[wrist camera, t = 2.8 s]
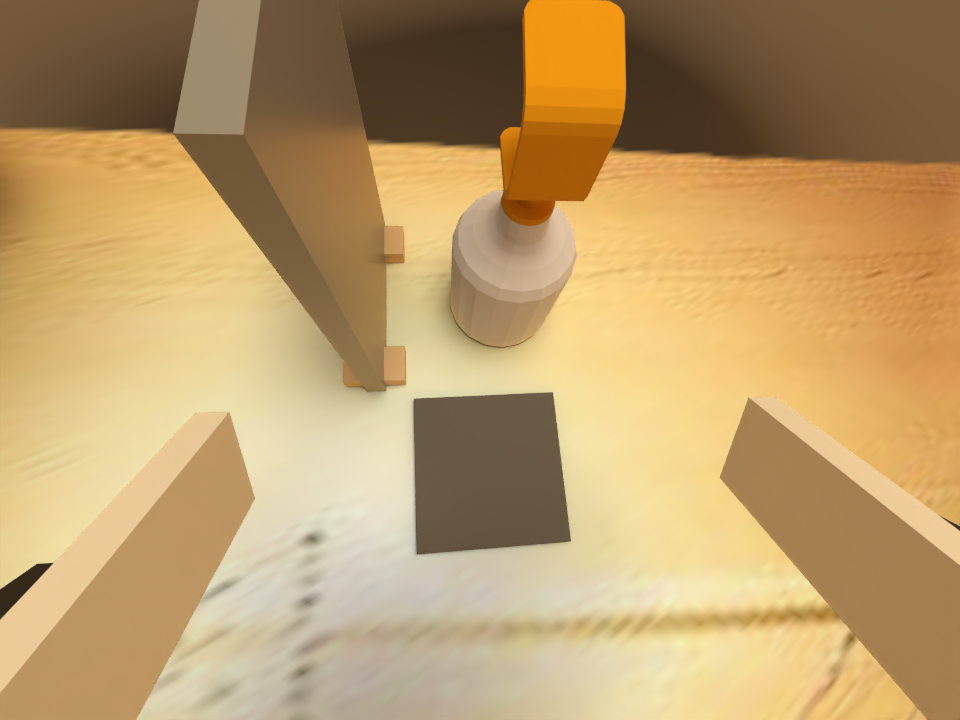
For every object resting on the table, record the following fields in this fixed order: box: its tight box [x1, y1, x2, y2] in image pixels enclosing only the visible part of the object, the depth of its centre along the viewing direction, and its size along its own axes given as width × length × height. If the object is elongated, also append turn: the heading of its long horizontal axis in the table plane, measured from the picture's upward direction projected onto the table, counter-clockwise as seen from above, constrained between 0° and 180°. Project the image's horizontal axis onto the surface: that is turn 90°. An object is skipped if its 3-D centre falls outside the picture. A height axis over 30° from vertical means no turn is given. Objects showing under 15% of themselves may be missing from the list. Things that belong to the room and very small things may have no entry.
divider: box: [173, 0, 406, 392], centre depth 25 cm, size 5×16×27 cm, turn 4°
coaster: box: [414, 392, 571, 554], centre depth 34 cm, size 12×12×1 cm
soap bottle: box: [451, 0, 626, 347], centre depth 28 cm, size 9×9×25 cm
